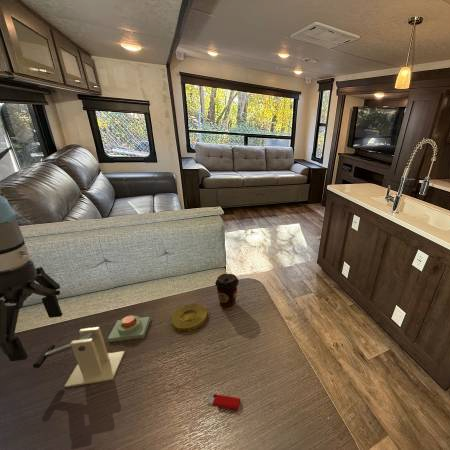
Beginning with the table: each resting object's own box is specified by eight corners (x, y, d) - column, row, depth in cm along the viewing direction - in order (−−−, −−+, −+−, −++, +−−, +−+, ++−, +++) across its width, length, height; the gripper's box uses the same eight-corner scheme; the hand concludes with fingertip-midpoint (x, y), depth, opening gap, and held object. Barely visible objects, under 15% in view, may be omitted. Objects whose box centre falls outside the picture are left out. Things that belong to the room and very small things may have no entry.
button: (120, 328, 81) (119, 324, 80) (125, 320, 84) (123, 315, 83) (133, 327, 81) (132, 322, 81) (137, 319, 85) (136, 314, 84)
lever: (36, 369, 63) (29, 364, 62) (51, 350, 68) (45, 344, 67) (89, 349, 64) (83, 344, 63) (100, 332, 70) (95, 326, 69)
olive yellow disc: (171, 313, 93) (171, 308, 92) (205, 305, 98) (204, 301, 97) (171, 337, 83) (170, 332, 83) (208, 327, 88) (208, 323, 88)
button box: (108, 343, 79) (106, 334, 78) (118, 324, 86) (116, 316, 85) (144, 339, 82) (142, 330, 80) (150, 321, 89) (149, 312, 87)
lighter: (236, 408, 64) (207, 403, 64) (236, 411, 64) (207, 406, 65) (240, 397, 67) (211, 392, 67) (240, 400, 67) (212, 395, 68)
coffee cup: (225, 315, 95) (224, 287, 90) (212, 305, 99) (210, 278, 94) (242, 303, 101) (242, 277, 96) (229, 294, 106) (229, 269, 100)
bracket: (65, 389, 66) (49, 352, 60) (83, 359, 74) (70, 324, 68) (113, 381, 69) (101, 345, 63) (125, 353, 77) (116, 319, 71)
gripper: (-21, 301, 44) (21, 379, 53) (62, 238, 66) (82, 301, 75) (-78, 305, 42) (-25, 386, 51) (27, 240, 64) (52, 303, 73)
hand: (39, 335), depth 63 cm, fingers open, 13 cm apart
